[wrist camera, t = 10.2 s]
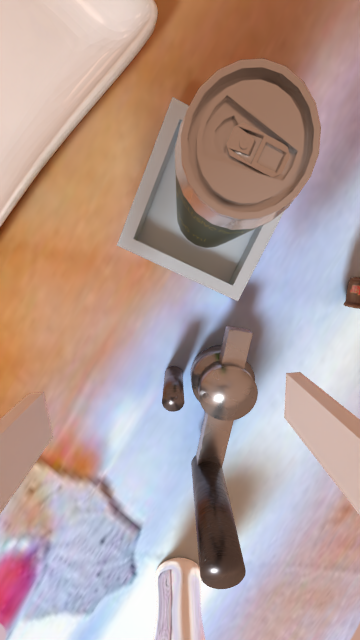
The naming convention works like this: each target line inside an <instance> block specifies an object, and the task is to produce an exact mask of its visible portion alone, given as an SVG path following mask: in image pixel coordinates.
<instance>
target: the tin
mask: <svg viewBox="0 0 360 640" xmlns="http://www.w3.org/2000/svg"><path fill="white" fill-rule="evenodd" d="M344 305H345V306H348V307H353V308H359V309H360V278H358V277H353V278H351V279H350V281H349V284H348V289H347V295H346V302H345V303H344Z"/></svg>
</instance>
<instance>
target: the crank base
mask: <svg viewBox="0 0 360 640" xmlns="http://www.w3.org/2000/svg"><path fill="white" fill-rule="evenodd" d="M221 348H222V346H214V347H210V348H208V349H206V350H204V351H203V352H201V353H200V354H199V355H198V356H197V357H196V359H195V360H194V362H193V364H192V367H191V382H192V389H193V392H194V394H195V396H196V398H197V399H198V400H199V402H200V398H199V393H198V379H199V376H200V374H201V373H202V371H203V370H204V369H205V368H206V367H207V366H208V365H210V364H211V363H213V362H216V361H219V357H220V353H221ZM245 368H246V370H247V371H248V372H249V374H250V375H251V377H252V378H253V380H254V382H255V376H254V372H253V370H252V368H251V366H250V364H249V363H248V362H247V360H246V363H245ZM162 404H163V406H164V408H165V409H167V410H168V411H178V410H180V409H181V408H182V407H183V405H184V391H183V375H182V370H181V369H180V368H179V367H177V366H170V367H168V368H167V369H166V371H165V378H164V388H163V399H162Z"/></svg>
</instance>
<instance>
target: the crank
mask: <svg viewBox="0 0 360 640" xmlns="http://www.w3.org/2000/svg"><path fill="white" fill-rule="evenodd" d="M252 335H253V333H252V332H251V331H250V330H249V329H243V328H237V327H230V326H226V330H225V334H224V339H223V343H222V348H221V353H220V357H219V361H216V362H213V363H211V364H210V365H208V366H207V367H206V368H205V369H204V370H203V371H202V373H201V374H200V376H199V379H198V393H199V398H200V403H201V406H202V408H203V409H204V411H205V416H204V421H203V426H202V430H201V435H200V439H199V444H198V449H197V453H196V456H195V457H194V458H193V460H192V463H191V465H192V478H193V491H194V503H195V516H196V529H197V541H198V554H199V567H200V577H201V579H202V581H203V582H204V583H205V584H206V585H207V586H209V587H212V588H216V589H227V588H231V587H233V586H235V585H237V584H239V583H240V582H241V581H242V580H243V578H244V576H245V566H244V561H243V557H242V553H241V548H240V544H239V539H238V535H237V531H236V526H235V522H234V518H233V513H232V509H231V505H230V500H229V496H228V491H227V487H226V483H225V478H224V474H223V470H222V465H223V461H224V457H225V453H226V449H227V445H228V441H229V437H230V433H231V429H232V425H233V421H234V420H236V419H239V418H241V417H243V416H245V415H246V414H247V413H248V412H250V410H251V409H252V408H253V407H254V405H255V403H256V400H257V395H258V391H257V386H256V383H255V382H254V380H253V378H252V377H251V375H250V374H249V372H248V371H247V370H246V368H245V363H246V359H247V355H248V351H249V347H250V343H251V339H252Z"/></svg>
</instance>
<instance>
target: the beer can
mask: <svg viewBox="0 0 360 640" xmlns="http://www.w3.org/2000/svg"><path fill="white" fill-rule="evenodd" d="M320 133H321V126H320V121H319V116H318V111H317V107H316V103H315V101H314V99H313V97H312V96H311V94H310V92H309V90H308V88H307V87H306V85H305V83H304V81H302V80H301V79H300V78H299V77H298V76H297V75H295V74H294V73H293V72H292V71H291V70H290V69H289V68H287V67H286V66H284V65H281V64H278V63H275V62H272V61H269V60H267V59H247V60H239V61H237V62H234V63H232V64H230V65H228V66H226V67H223V68H221V69H219V70H217V71H216V72H215V73H214V74H213V75H212V76H211V77H210V78H209V79H208V80H207V81H206V82H205V83H204V84H203V85H202V86H201V87H200V88H199V89H198V91H197V93H196V95H195V96H194V98H193V100H192V102H191V104H190V105H189V107H188V109H187V111H186V115H185V117H184V119H183V121H182V123H181V124H180V128H179V132H178V137H177V141H176V145H175V174H176V203H177V222H178V224H179V227H180V230H181V232H182V233H183V235H184V236H185V237H186V238H187V240H189V241H190V242H192V243H193V244H195V245H197V246H201V247H204V248H210V247H217V246H219V245H222V244H224V243H226V242H228V241H231V240H233V239H235V238H237V237H239V236H241V235H243V234H245V233H247V232H250V231H252V230H254V229H256V228H258V227H260V226H262V225H264V224H266V223H269V222H271V221H272V220H273V219H275V218H276V217H277V216H278V215H280V214H281V213H282V212H283V211H285V210H286V209H287V208H288V207H289V206H290V204H291V203H292V202H293V200H294V199H295V197H296V196H297V195H298V194H299V192H300V191H301V190H302V188H303V187H304V185H305V184H306V182H307V181H308V180H309V178H310V177H311V174H312V171H313V168H314V166H315V163H316V160H317V157H318V154H319V146H320Z"/></svg>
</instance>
